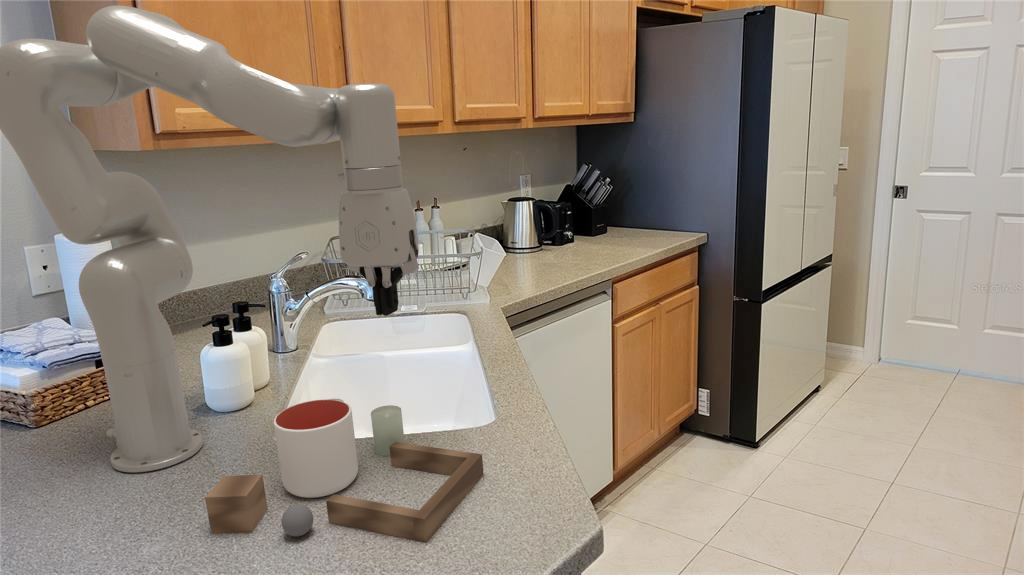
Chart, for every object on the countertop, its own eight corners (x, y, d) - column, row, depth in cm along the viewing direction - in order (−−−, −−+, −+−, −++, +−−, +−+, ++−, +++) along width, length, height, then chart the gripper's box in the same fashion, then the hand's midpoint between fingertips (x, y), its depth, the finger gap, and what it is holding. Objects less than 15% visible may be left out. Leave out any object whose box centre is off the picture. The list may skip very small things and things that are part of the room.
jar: (369, 454, 101) (364, 416, 100) (385, 440, 105) (381, 404, 104) (395, 458, 100) (391, 419, 98) (410, 444, 104) (406, 407, 102)
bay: (328, 522, 84) (325, 500, 83) (397, 461, 99) (395, 441, 98) (426, 542, 79) (424, 519, 78) (483, 474, 94) (482, 454, 93)
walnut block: (211, 534, 83) (204, 497, 82) (229, 511, 88) (223, 475, 87) (252, 533, 83) (246, 496, 82) (267, 510, 88) (262, 474, 87)
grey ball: (277, 539, 81) (272, 512, 80) (297, 522, 85) (293, 496, 84) (302, 545, 80) (298, 517, 79) (321, 527, 83) (317, 501, 82)
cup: (365, 461, 99) (357, 396, 97) (351, 499, 89) (343, 428, 87) (294, 466, 99) (285, 401, 96) (273, 504, 89) (263, 433, 87)
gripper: (310, 184, 92) (326, 317, 96) (408, 182, 86) (421, 324, 90) (343, 178, 98) (357, 303, 103) (436, 176, 93) (447, 308, 97)
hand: (387, 312), depth 97 cm, fingers closed
